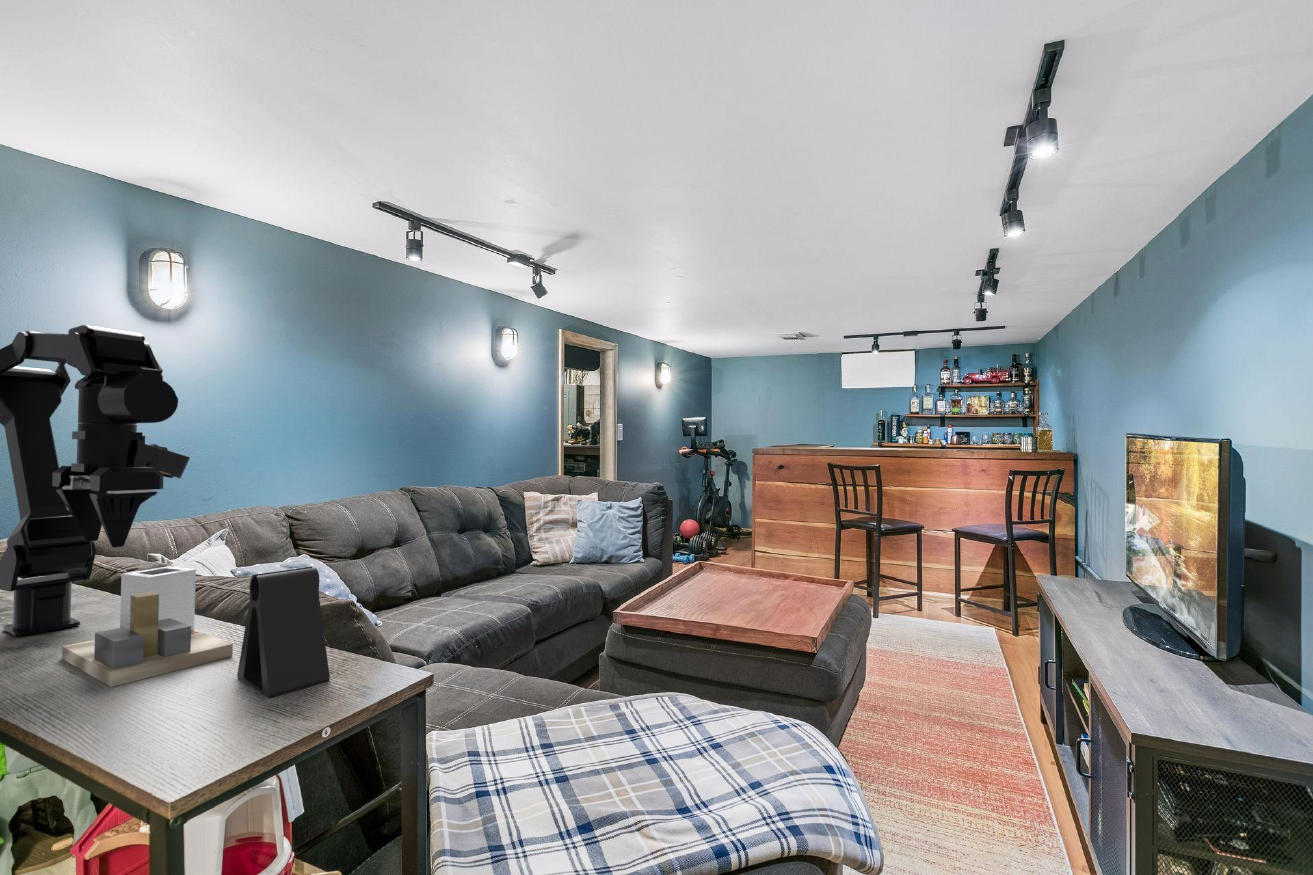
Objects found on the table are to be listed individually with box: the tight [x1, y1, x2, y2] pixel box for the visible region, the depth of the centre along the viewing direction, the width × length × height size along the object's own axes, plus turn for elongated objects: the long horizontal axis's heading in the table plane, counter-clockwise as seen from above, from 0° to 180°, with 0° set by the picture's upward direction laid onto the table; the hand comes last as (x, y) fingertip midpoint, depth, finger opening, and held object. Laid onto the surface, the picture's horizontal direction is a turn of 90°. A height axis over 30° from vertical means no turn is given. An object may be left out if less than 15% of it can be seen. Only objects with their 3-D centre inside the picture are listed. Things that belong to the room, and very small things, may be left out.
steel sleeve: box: [119, 565, 197, 631], centre depth 77 cm, size 5×5×8 cm
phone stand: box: [236, 566, 331, 699], centre depth 67 cm, size 9×6×12 cm, turn 52°
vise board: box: [61, 592, 234, 688], centre depth 73 cm, size 16×12×8 cm
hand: (104, 543), depth 78 cm, fingers open, 9 cm apart
